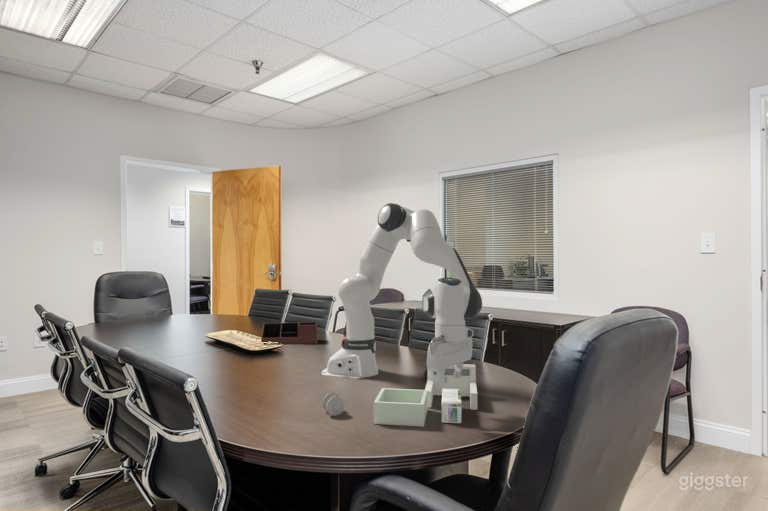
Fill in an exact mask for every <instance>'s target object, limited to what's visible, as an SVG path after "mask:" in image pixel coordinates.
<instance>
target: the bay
mask: <svg viewBox="0 0 768 511" xmlns="http://www.w3.org/2000/svg"><path fill="white" fill-rule="evenodd" d="M455 368H456V365H454V366H452V367H449V368H446V369H445V373H444V374H445V377H447V383H446V384H440V383H439V377H438V374H437V372H436V371H430V370H428V368H427V367H426V370H427V381H426V384H425V388H424V390H427V409H429V408H430V409H431V408H432V405H433V400H434V396H442V389H461V397H469V404H470V406H469V407H470V410H473V411H476V410H478V388H477V382H476V381H477V374H476V373H477V371H476V370H477V368H476V364H475V363H474V364H471V363H469V364H468V363H463V368H462V371H461V377H460V378H454V371H455Z"/></svg>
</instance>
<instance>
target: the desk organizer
mask: <svg viewBox="0 0 768 511" xmlns="http://www.w3.org/2000/svg"><path fill="white" fill-rule="evenodd" d="M260 339H261V341H260V342H268V341H271V342H278V343H282V344H281V345H307V344H309V345H311V344H312V345H313V344H318V322H317V321H312V322H311V321H309V322H307V321H304V322H303V321H302V322H265V323H263V324H262V331H261V338H260Z"/></svg>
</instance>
